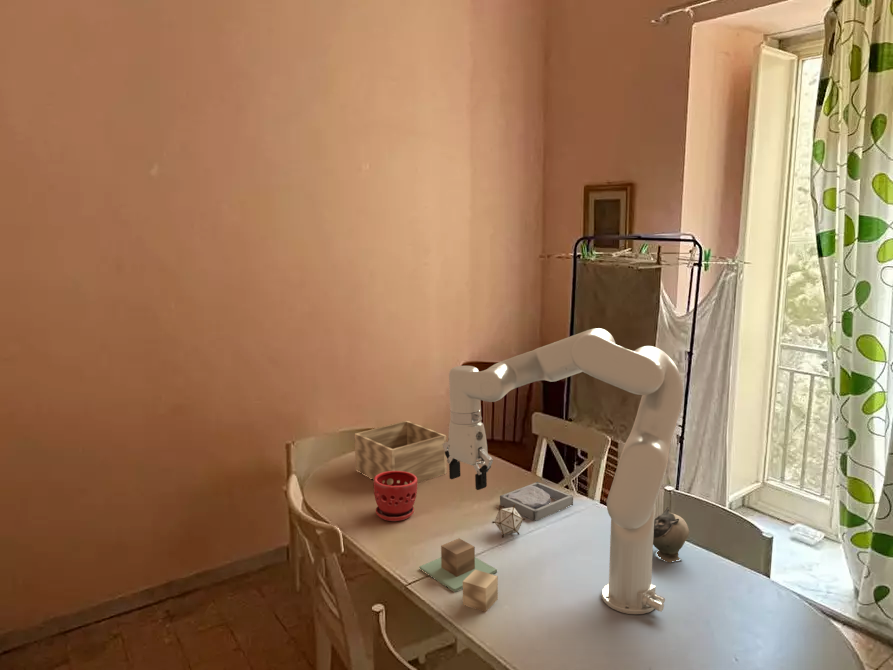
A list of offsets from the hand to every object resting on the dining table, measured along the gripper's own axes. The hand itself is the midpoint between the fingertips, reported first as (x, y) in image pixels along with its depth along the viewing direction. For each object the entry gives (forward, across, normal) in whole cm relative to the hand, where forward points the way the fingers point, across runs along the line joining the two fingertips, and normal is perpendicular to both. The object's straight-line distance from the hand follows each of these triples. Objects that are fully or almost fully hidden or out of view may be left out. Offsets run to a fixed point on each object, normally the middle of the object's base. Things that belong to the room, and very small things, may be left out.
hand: (467, 482), depth 166 cm
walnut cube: (+22, +2, +3) cm, 23 cm away
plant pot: (+23, +39, -5) cm, 45 cm away
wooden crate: (+22, +66, -26) cm, 74 cm away
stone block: (+24, +17, -41) cm, 50 cm away
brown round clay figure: (+25, -29, -44) cm, 58 cm away
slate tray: (+24, +15, -42) cm, 50 cm away
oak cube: (+24, -12, +8) cm, 28 cm away
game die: (+24, +8, -21) cm, 33 cm away
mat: (+23, +2, +3) cm, 24 cm away
